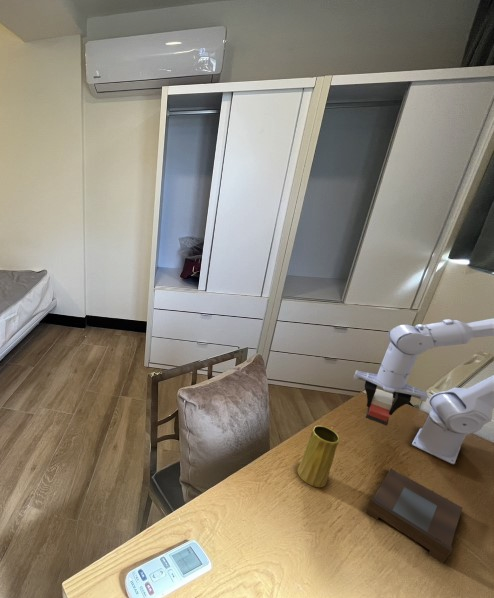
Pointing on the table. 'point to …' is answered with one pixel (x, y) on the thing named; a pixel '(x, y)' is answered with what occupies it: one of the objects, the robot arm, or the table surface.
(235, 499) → the table surface
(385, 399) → the two-tone white red block
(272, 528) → the table surface
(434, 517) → the dark brown slab
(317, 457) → the vase
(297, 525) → the table surface
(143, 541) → the table surface
